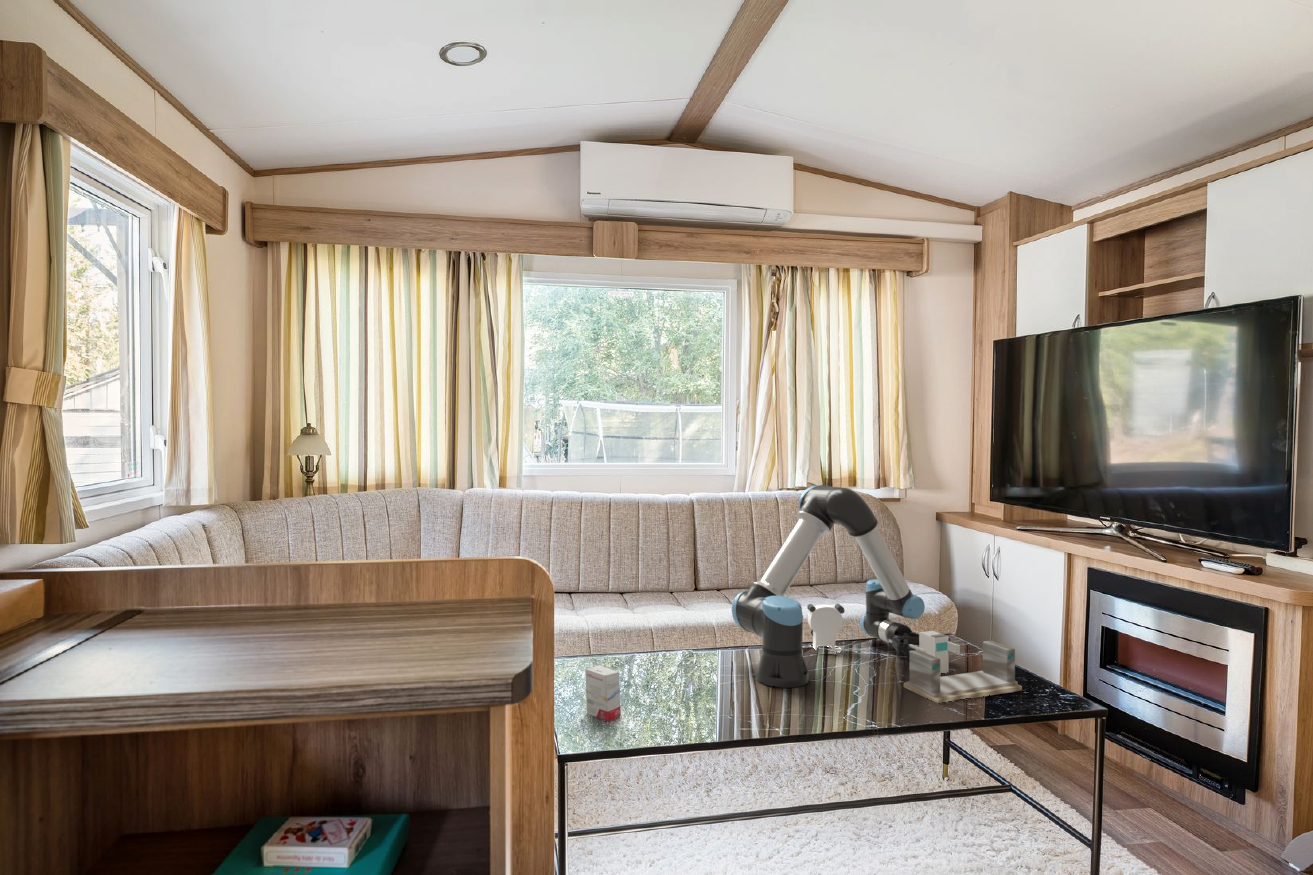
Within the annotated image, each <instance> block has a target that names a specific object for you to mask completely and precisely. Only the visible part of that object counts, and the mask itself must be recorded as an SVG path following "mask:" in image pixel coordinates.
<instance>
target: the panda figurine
mask: <svg viewBox="0 0 1313 875" xmlns="http://www.w3.org/2000/svg"><path fill="white" fill-rule="evenodd" d="M806 607H807V610H808V611H809V612H808V615H807V623H808V627H810V629H811V630H810V634H811V636H812V644H811V645H813V648H814V649H815V650H817V647H818V646H827V647H829V646H830V647H831V648H832V650H830V651H842V652H843V648H841V647H840V646H837V645H836V638H837V634H839V632H840V631H841V630H842V629H843V626H844V618H843V615H842V614H844V613H845V607H844V606H843V605H841V604H839V603H835V605H834V606H832V605H830V604H817V605H814V604H812V603H809V604H807V606H806ZM811 645H809V646H811ZM835 647H839V648H835ZM837 653H839V652H837ZM834 654H836V652H835V653H834ZM836 655H837V654H836Z"/></svg>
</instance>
